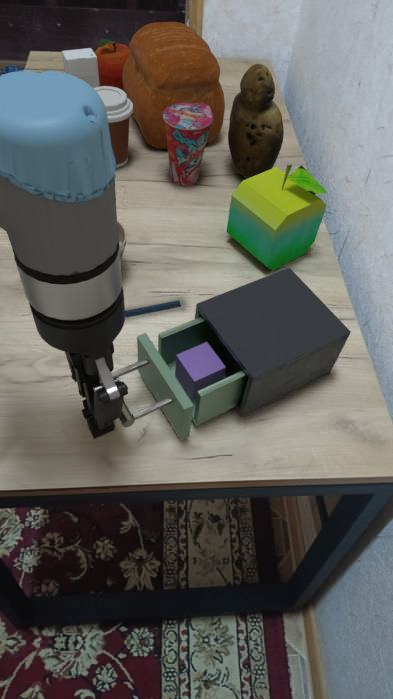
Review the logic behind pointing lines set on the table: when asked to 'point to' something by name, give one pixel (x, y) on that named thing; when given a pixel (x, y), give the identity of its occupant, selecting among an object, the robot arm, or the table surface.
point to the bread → (170, 77)
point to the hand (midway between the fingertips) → (102, 429)
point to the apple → (276, 215)
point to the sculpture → (255, 124)
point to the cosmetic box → (82, 65)
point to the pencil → (152, 308)
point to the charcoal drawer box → (275, 336)
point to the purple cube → (198, 369)
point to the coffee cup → (117, 120)
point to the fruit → (111, 62)
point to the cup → (186, 139)
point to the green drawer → (168, 389)
